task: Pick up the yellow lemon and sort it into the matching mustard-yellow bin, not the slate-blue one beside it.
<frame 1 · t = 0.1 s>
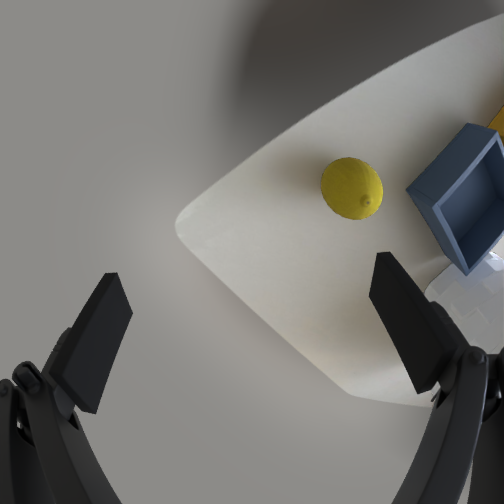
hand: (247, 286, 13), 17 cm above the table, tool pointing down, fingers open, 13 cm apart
white brick well: (456, 304, 39), on the table
blue bin: (460, 192, 28), on the table
lemon: (337, 176, 28), on the table
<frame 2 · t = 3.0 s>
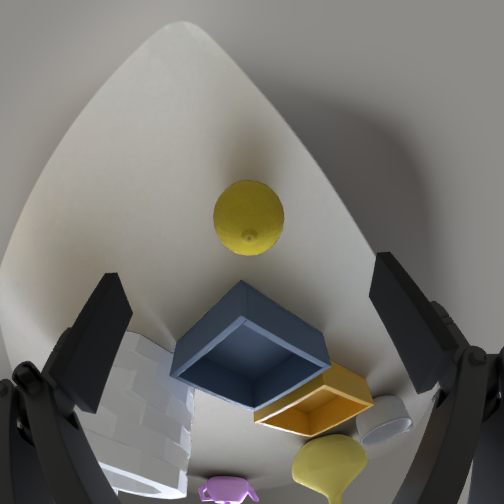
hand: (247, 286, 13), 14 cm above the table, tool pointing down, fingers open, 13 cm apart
vase: (325, 440, 55), on the table
white brick well: (126, 372, 39), on the table
teapot: (228, 479, 75), on the table
yellow bin: (311, 387, 41), on the table
blue bin: (248, 340, 35), on the table
teacup: (380, 402, 47), on the table
lemon: (247, 199, 26), on the table
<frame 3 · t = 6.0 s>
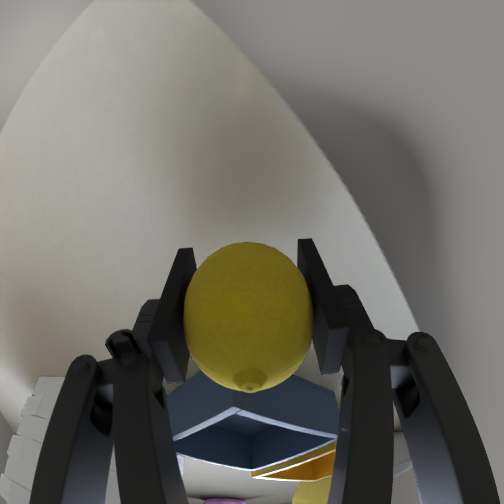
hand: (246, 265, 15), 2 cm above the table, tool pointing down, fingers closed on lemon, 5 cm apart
vase: (327, 471, 47), on the table
white brick well: (106, 420, 30), on the table
teapot: (225, 500, 66), on the table
yellow bin: (316, 436, 33), on the table
blue bin: (244, 402, 26), on the table
teacup: (389, 437, 39), on the table
lemon: (246, 261, 16), point 1 cm above the table, touching gripper
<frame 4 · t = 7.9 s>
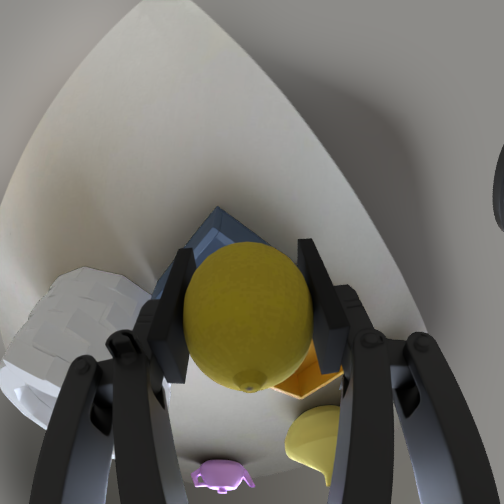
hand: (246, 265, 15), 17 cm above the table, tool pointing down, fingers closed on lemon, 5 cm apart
vase: (319, 413, 56), on the table
white brick well: (110, 324, 40), on the table
teapot: (222, 463, 76), on the table
yellow bin: (298, 340, 42), on the table
blue bin: (228, 277, 35), on the table
lemon: (246, 260, 16), point 16 cm above the table, touching gripper
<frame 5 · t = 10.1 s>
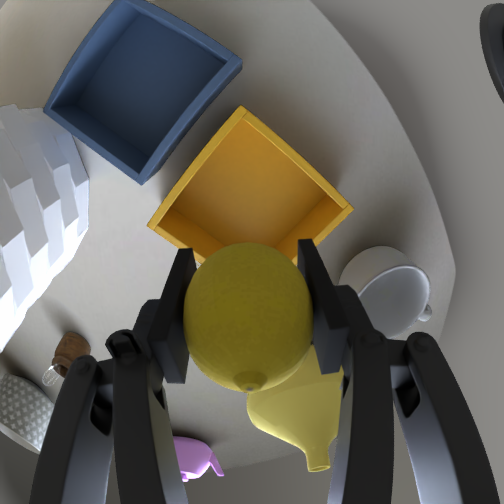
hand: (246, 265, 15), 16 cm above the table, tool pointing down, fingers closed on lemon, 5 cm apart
vase: (300, 363, 44), on the table
planter: (33, 387, 52), on the table
white brick well: (24, 188, 27), on the table
teapot: (185, 443, 63), on the table
yellow bin: (248, 195, 29), on the table
blue bin: (147, 83, 23), on the table
utensil holder: (78, 342, 41), on the table
teacup: (375, 274, 35), on the table
lemon: (246, 261, 16), point 15 cm above the table, touching gripper
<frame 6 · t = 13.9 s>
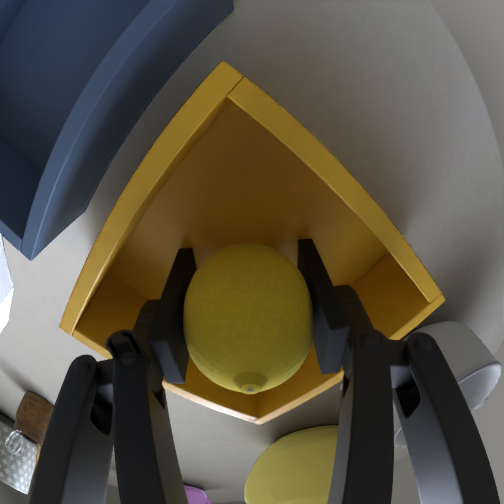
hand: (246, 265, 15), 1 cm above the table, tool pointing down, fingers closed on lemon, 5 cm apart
vase: (312, 438, 30), on the table
planter: (12, 422, 39), on the table
teapot: (178, 486, 49), on the table
yellow bin: (246, 257, 16), on the table
blue bin: (60, 56, 9), on the table
utensil holder: (42, 401, 27), on the table
teacup: (424, 348, 22), on the table
lemon: (246, 261, 16), resting on yellow bin, touching gripper
when the fingers open (1 cm above the table, at t = 14.0 s): lemon stays where it is, resting on yellow bin.
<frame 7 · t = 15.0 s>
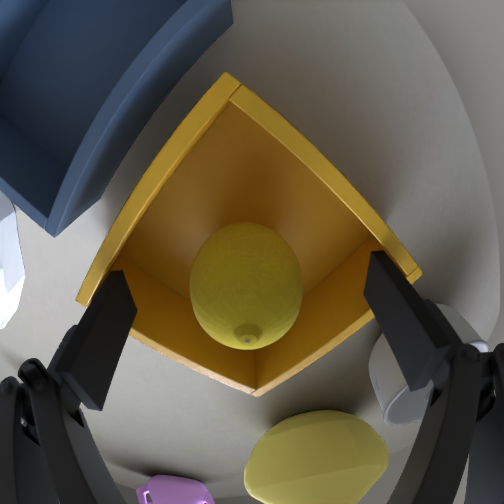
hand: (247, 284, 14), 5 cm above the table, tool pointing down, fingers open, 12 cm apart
vase: (309, 424, 32), on the table
teapot: (178, 480, 51), on the table
yellow bin: (244, 239, 18), on the table
blue bin: (79, 60, 11), on the table
teacup: (414, 332, 24), on the table
lemon: (244, 242, 18), resting on yellow bin
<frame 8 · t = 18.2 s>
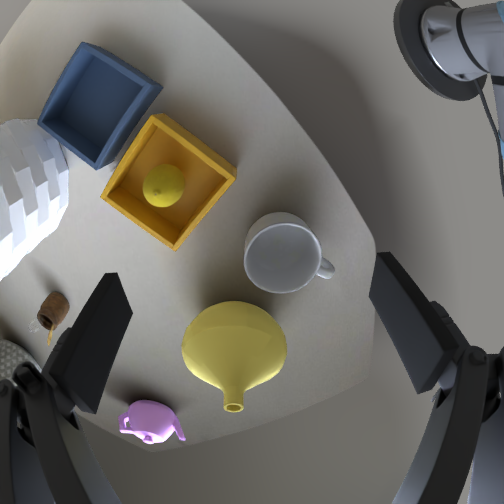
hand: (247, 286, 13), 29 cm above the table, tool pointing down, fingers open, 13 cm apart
vase: (234, 321, 53), on the table
planter: (24, 354, 62), on the table
white brick well: (24, 176, 36), on the table
teapot: (154, 409, 72), on the table
yellow bin: (172, 176, 39), on the table
blue bin: (104, 102, 32), on the table
utensil holder: (60, 301, 50), on the table
teacup: (285, 239, 45), on the table
lemon: (171, 177, 38), resting on yellow bin
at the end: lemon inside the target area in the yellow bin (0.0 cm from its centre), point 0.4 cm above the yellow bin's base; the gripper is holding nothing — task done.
